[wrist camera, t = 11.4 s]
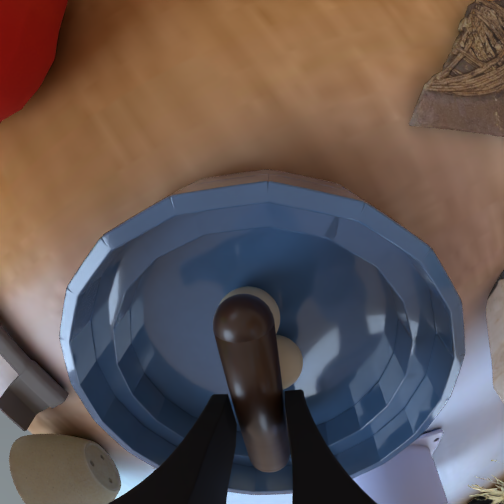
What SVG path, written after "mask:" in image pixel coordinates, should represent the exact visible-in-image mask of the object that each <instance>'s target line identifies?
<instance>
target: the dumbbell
mask: <svg viewBox="0 0 504 504" xmlns="http://www.w3.org/2000/svg"><path fill="white" fill-rule="evenodd" d="M489 495H490V496H495V497H500V496H496V495H491V494H489ZM484 496H486V494H485V495H483V496H479V497H477V498H475V499H473V500H472V501H470V502H469V503H468V504H492V503H493V500H492V499H488V498H489V496H487V497H488V498H487V499H486V497H484ZM478 499H479V500H478ZM485 499H486V500H485ZM494 501H495V500H494ZM501 503H502V504H504V502H503V500H502V501H500V502H498V504H501ZM496 504H497V503H496Z"/></svg>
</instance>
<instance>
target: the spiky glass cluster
mask: <svg viewBox="0 0 504 504" xmlns="http://www.w3.org/2000/svg"><path fill="white" fill-rule="evenodd" d="M491 461H493V460H491ZM495 462H496V460H495ZM492 476H493V475H492ZM493 477H494V476H493ZM478 478H480V477H478ZM487 478H488V477H487ZM494 478H496V477H494ZM481 479H484V478H481ZM496 479H497V478H496ZM484 480H488V481H490V482H493V481H492V480H490V479H489V478H488V479H484ZM499 481H500V480H499ZM500 482H501V483H502V484H501V485H502V487H499V486H497V487H499V488H501V490H502V491H498V490H497V489H498V488H492V489H485V488H482V487H480V486H478V485H477V486H476V484H475V485H473V486H476V487H478V488H474V487H472V486H469V485H468V486H469V487H471V488H473V489H476V490H479V491H480V492H490V493H484V494H483V493H482V494H481V495H480V494H475V495H478V496H483V495H485V494H486V496H484V497H486V499H487V498H488V497H487V496H489V498H488V499H492V500H493V503H492V504H496V503H497V504H498V502H500V501H502V500H503V502H504V488H503V486H504V485H503V483H504V482H502V481H500ZM493 483H496V482H493ZM497 484H500V483H499V482H498V480H497ZM495 486H496V485H495ZM483 487H484V486H483ZM489 494H491V495H496V496H500V497H495V496H490V495H489ZM500 494H501V495H500ZM469 496H473V495H469ZM486 499H485V500H486ZM478 500H479V499H478ZM494 500H495V501H494ZM501 504H502V503H501Z"/></svg>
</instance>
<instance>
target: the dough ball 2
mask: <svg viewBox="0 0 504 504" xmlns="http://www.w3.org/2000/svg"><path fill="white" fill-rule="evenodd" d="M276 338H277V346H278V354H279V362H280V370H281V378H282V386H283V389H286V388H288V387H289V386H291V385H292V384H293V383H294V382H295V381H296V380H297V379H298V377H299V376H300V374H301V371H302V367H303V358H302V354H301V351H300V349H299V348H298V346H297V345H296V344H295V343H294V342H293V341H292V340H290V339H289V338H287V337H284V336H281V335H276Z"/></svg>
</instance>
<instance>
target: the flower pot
mask: <svg viewBox="0 0 504 504" xmlns="http://www.w3.org/2000/svg"><path fill="white" fill-rule="evenodd" d="M9 457H10V458H9V463H10V471H11V475H12V478H13V482H14V484H15V486H16V489H17V491H18V493H19V495H20V496H21V498H22V500H23V501H24V502H25V503H26V504H108V503H110V502H112V501H113V500H114V499H115V497H116V496H117V494H118V492H119V490H120V488H121V480H120V476H119V473H118V470H117V468H116V466H115V464H114V462H113V460H112V459H111V457H110V456H109V455H108V453H107V452H106V451H105V450H104V449H103V448H102V447H101V446H100V445H99V444H97V443H95V442H93V441H90V440H87V439H83V438H78V437H73V436H67V435H59V434H33V435H27V436H23V437H20V438H18V439H17V440H16V441H15V442H14V443H13V445H12V448H11V450H10V456H9Z"/></svg>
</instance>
